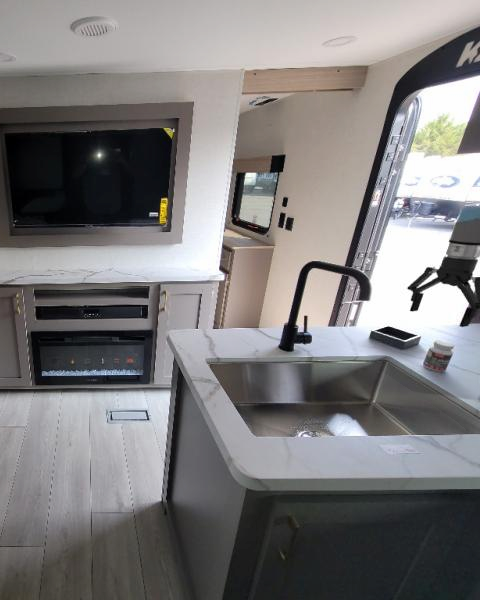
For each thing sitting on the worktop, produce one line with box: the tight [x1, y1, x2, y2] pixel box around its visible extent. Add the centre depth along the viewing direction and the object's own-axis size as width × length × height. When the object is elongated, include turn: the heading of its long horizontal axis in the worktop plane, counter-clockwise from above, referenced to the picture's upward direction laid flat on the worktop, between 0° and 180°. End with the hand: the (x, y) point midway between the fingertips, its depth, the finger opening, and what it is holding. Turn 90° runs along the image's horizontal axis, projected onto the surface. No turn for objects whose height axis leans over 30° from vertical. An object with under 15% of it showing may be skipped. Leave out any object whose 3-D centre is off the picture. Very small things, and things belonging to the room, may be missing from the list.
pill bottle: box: [422, 339, 455, 373], centre depth 114 cm, size 6×6×10 cm
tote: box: [368, 324, 422, 351], centre depth 134 cm, size 11×11×4 cm
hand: (437, 318), depth 110 cm, fingers open, 13 cm apart
